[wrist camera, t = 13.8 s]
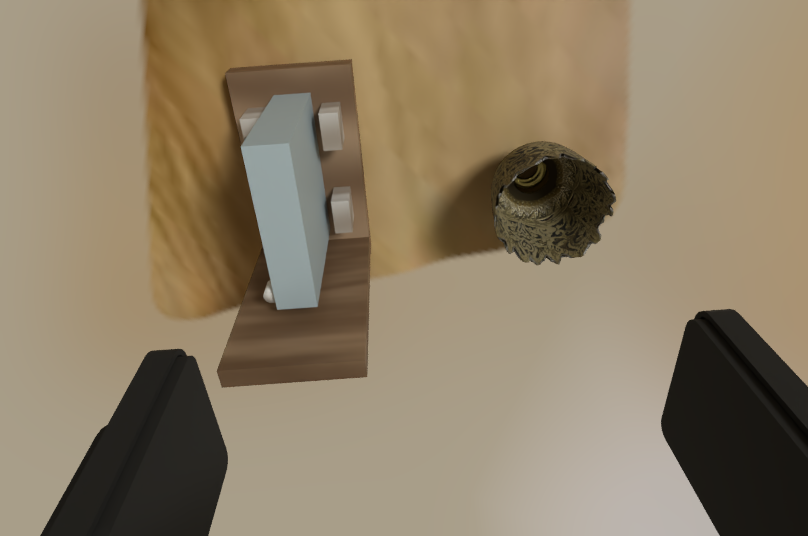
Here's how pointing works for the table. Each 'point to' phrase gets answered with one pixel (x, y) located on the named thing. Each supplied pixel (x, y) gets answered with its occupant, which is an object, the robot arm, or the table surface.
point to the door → (289, 199)
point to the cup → (549, 203)
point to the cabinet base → (346, 252)
